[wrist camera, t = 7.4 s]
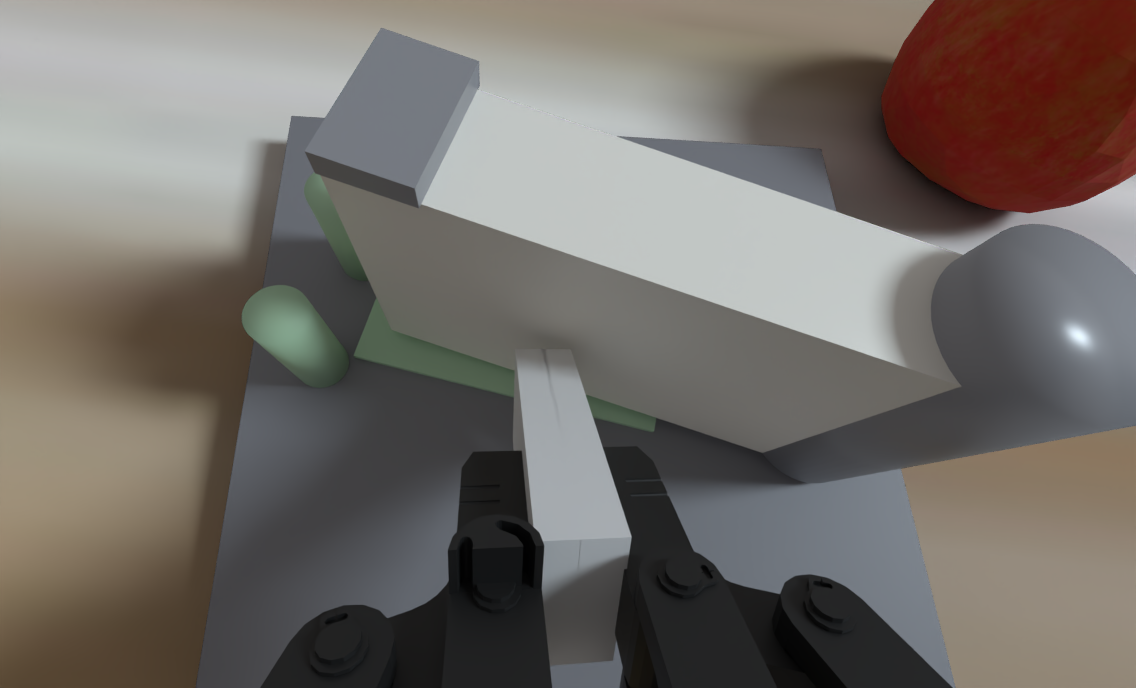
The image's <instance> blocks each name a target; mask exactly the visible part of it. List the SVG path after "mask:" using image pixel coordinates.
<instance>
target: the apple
mask: <svg viewBox="0 0 1136 688" xmlns="http://www.w3.org/2000/svg"><path fill="white" fill-rule="evenodd" d="M881 108H882V113H883V117H884V121H885V126H886V130H887V134H888V138H889V139H890V140H891V142H892V143H893V145H894V146H895V148H896V149H897V150H898V152H899V153H900V154H901V155H902V156H903V157H904V158H905V159H906V160H908V161H909V162H910V163H911V164H912V165H913V166H915V167H916V168H917V169H918V170H919V171H920V172H922V173H923V174H924V175H925V176H926V177H927V178H929V179H930V180H931V181H933V182H935V183H937V184H939V185H940V186H942V187H944V188H946V189H947V190H949V191H951V192H953V193H954V194H956V195H958V196H960V197H961V198H963V199H965V200H967V201H970V202H973V203H976V204H979V205H982V206H985V207H988V208H991V209H997V210H1006V211H1015V212H1023V213H1033V212H1039V211H1044V210H1050V209H1055V208H1060V207H1066V206H1071V205H1074V204H1077V203H1080V202H1083V201H1086V200H1088V199H1090V198H1092V197H1094V196H1096V195H1098V194H1100V193H1102V192H1104V191H1106V190H1108V189H1110V188H1112V187H1114V186H1116V185H1118V184H1120V183H1121V182H1123V181H1125V180H1126V179H1128V178H1130V177H1131V176H1133V175H1135V174H1136V0H935V1H934V2H933V3H932V4H931V5H930V6H929V7H928V9H927V10H926V12H925V13H924V14H923V16H922V17H921V19H920V20H919V21H918V23H917V24H916V26H915V27H914V28H913V30H912V31H911V33H910V34H909V36H908V37H907V38H906V40H905V41H904V43H903V45H902V47H901V49H900V51H899V53H898V55H897V58H896V60H895V62H894V64H893V67H892V69H891V72H890V75H889V77H888V80H887V83H886V85H885V88H884V91H883V94H882V96H881Z"/></svg>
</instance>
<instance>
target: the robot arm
mask: <svg viewBox="0 0 1136 688" xmlns="http://www.w3.org/2000/svg"><path fill="white" fill-rule="evenodd" d="M513 450H514V451H479V452H473V453H472V454H471V455H470V457H469V458H468V460H467V461H466V462H465V464H464V465H463V466H462V470H461V483H460V496H459V510H458V523H457V532H456V533H455V534H454V535H453V537H452V540H451V542H450V545H449V548H448V574H449V581H448V583H447V585H446V586H445V587H444V588H443V589H442V590H441V591H440V592H439V593H438V595H436V596H435V597H434V598H432V599H431V600H429V601H428V602H427V603H425V604H423V605H421V606H419V607H416V608H414V609H412V610H409V611H406V612H404V613H401V614H398V615H395V616H392V617H389V618H386V616H385V615H384V614H383V613H382V612H381V611H380V610H377V609H374V608H372V607H369V606H366V605H343V606H340V607H337V608H334V609H331V610H328V611H325V612H323V613H321V614H320V615H318V616H317V617H315V618H313V619H312V620H310V621H309V622H307V623H306V624H304V626H303V627H302V628H301V629H300V630H299V631H298V632H297V634H296V635H295V636H294V637H293V638H292V639H291V640H290V642H289V643H288V645H287V646H286V648H285V650H284V651H283V653H282V654H281V656H280V657H279V659H278V660H277V662H276V664H275V665H274V667H273V668H272V670H271V671H270V673H269V675H268V676H267V678H266V679H265V681H264V682H263V684H262V686H261V687H260V688H552V681H551V671H550V666H553V665H565V664H580V663H592V662H604V661H613V658H614V651H615V645H616V641H617V645H618V649H619V654H620V658H621V662H622V667H623V668H622V674H621V681H620V687H619V688H953V687H952V686H951V685H950V684H949V683H948V682H947V681H946V680H945V679H943V678H942V677H941V676H940V675H939V674H938V673H937V672H936V671H935V670H934V669H933V668H932V667H931V666H930V665H929V664H928V663H927V662H926V661H925V660H924V659H923V658H922V657H921V656H920V655H919V654H918V653H917V652H916V651H915V650H914V649H913V648H912V647H911V646H910V645H909V644H908V643H907V642H906V641H905V640H904V639H902V638H901V637H900V636H899V635H898V634H897V633H896V632H895V631H894V630H893V629H892V628H891V627H890V626H889V625H888V624H887V623H886V622H885V621H884V620H883V619H882V618H881V617H880V616H879V615H878V614H877V613H876V612H875V611H874V610H873V609H872V608H871V607H870V606H869V605H868V604H867V603H866V602H865V601H864V600H863V599H861V598H860V597H859V596H858V595H856V594H855V593H854V592H852V591H851V590H850V589H849V588H847V587H846V586H844V585H842V584H840V583H838V582H836V581H834V580H831V579H829V578H827V577H822V576H817V575H812V574H806V575H797V576H794V577H792V578H791V579H789V580H788V581H786V582H785V583H784V585H783V588H782V590H781V593H780V594H777V593H773V592H768V591H764V590H759V589H754V588H750V587H745V586H742V585H738V584H735V583H732V582H729V581H727V580H725V579H724V577H723V576H722V574H721V573H720V572H719V570H718V569H717V568H716V566H715V565H714V564H713V563H712V562H711V561H709V560H708V559H706V558H705V557H704V556H702V555H701V554H699V553H696V552H694V550H693V548H692V546H691V544H690V542H689V539H688V537H687V535H686V533H685V531H684V528H683V526H682V524H681V522H680V519H679V517H678V515H677V513H676V511H675V508H674V506H673V504H672V502H671V499H670V497H669V496H667V491H666V488H665V486H664V484H663V482H662V481H661V477H660V475H659V473H658V471H657V468H656V466H655V464H654V462H653V460H652V459H651V458H649V457H648V456H647V455H646V454H645V453H644V452H643V451H642V450H641V449H640V448H638V447H637V446H627V447H602V444H601V441H600V438H599V435H598V432H597V428H596V425H595V422H594V419H593V416H592V413H591V410H590V407H589V404H588V401H587V398H586V394H585V391H584V388H583V385H582V382H581V379H580V376H579V373H578V370H577V367H576V364H575V360H574V357H573V354H572V351H571V349H515V379H514V413H513Z"/></svg>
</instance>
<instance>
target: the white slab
mask: <svg viewBox="0 0 1136 688" xmlns="http://www.w3.org/2000/svg"><path fill="white" fill-rule="evenodd" d="M479 86H480V82H479V61H477V60H474V59H471V58H468V57H465V56H462V55H459V54H456V53H453V52H450V51H447V50H445V49H442V48H439V47H436V46H433V45H430V44H427V43H424V42H421V41H418V40H415V39H412V38H410V37H407V36H404V35H401V34H398V33H395V32H392V31H389V30H386V29H383V28H381V29H380V31H379V32H378V34H377V36H376V37H375V39H374V40H373V42H372V44H371V45H370V47H369V48H368V50H367V52H366V53H365V55H364V56H363V58H362V60H361V61H360V63H359V64H358V66H357V68H356V69H355V71H354V72H353V74H352V76H351V77H350V79H349V80H348V82H347V84H346V85H345V87H344V89H343V90H342V92H341V93H340V95H339V97H338V98H337V100H336V101H335V103H334V105H333V106H332V108H331V109H330V111H329V113H328V114H327V116H326V117H325V119H324V121H323V122H322V124H321V125H320V127H319V129H318V130H317V132H316V133H315V135H314V137H313V138H312V140H311V141H310V143H309V145H308V146H307V148H306V150H305V153H306V156H307V158H308V160H309V162H310V164H311V166H312V168H313V170H314V172H315V174H318V175H320V176H321V178H322V180H323V182H324V185H325V187H326V189H327V191H328V193H329V195H330V198H331V200H332V202H333V204H334V206H335V208H336V211H337V213H338V215H339V217H340V219H341V221H342V224H343V226H344V228H345V230H346V232H347V234H348V237H349V239H350V241H351V243H352V245H353V248H354V250H355V252H356V254H357V256H358V258H359V261H360V263H361V265H362V267H363V269H364V271H365V274H366V276H367V278H368V280H369V282H370V284H371V287H372V289H373V291H374V293H375V295H376V297H377V300H378V302H379V304H380V306H381V308H382V310H383V313H384V315H385V317H386V319H387V321H388V324H389V326H390V328H391V330H393V331H396V332H399V333H402V334H405V335H408V336H411V337H414V338H417V339H420V340H423V341H426V342H429V343H432V344H435V345H438V346H441V347H444V348H447V349H450V350H453V351H456V352H459V353H463V354H466V355H469V356H472V357H475V358H478V359H481V360H484V361H487V362H490V363H493V364H496V365H499V366H502V367H505V368H508V369H511V370H514V371H515V349H571V351H572V354H573V357H574V360H575V364H576V367H577V370H578V373H579V376H580V379H581V382H582V385H583V388H584V391H585V394H586V395H589V396H592V397H595V398H598V399H601V400H604V401H607V402H610V403H613V404H616V405H619V406H622V407H625V408H628V409H631V410H634V411H637V412H640V413H643V414H646V415H649V416H652V417H655V418H658V419H661V420H664V421H667V422H671V423H674V424H677V425H680V426H683V427H686V428H689V429H692V430H695V431H698V432H701V433H704V434H707V435H710V436H713V437H716V438H719V439H722V440H725V441H728V442H731V443H734V444H737V445H740V446H743V447H746V448H749V449H752V450H755V451H758V452H761V453H763V455H764V456H765V457H766V458H767V460H768V461H769V462H770V463H771V464H772V465H773V466H774V467H776V468H777V469H778V470H779V471H781V472H782V473H784V474H785V475H787V476H789V477H791V478H793V479H796V480H798V481H802V482H806V483H825V482H831V481H836V480H842V479H847V478H853V477H858V476H864V475H869V474H874V473H880V472H885V471H891V470H896V469H902V468H907V467H913V466H918V465H924V464H929V463H934V462H940V461H945V460H951V459H956V458H962V457H967V456H973V455H978V454H984V453H989V452H994V451H1000V450H1005V449H1011V448H1016V447H1022V446H1027V445H1033V444H1038V443H1044V442H1049V441H1054V440H1060V439H1065V438H1071V437H1076V436H1082V435H1087V434H1093V433H1098V432H1103V431H1109V430H1114V429H1120V428H1125V427H1131V426H1136V275H1135V274H1134V273H1133V272H1132V271H1131V270H1130V269H1129V268H1128V267H1127V266H1126V265H1125V264H1124V263H1123V262H1122V261H1120V260H1119V259H1118V258H1117V257H1116V256H1114V255H1113V254H1112V253H1110V252H1109V251H1108V250H1106V249H1105V248H1103V247H1101V246H1100V245H1098V244H1097V243H1095V242H1093V241H1091V240H1089V239H1087V238H1086V237H1084V236H1082V235H1079V234H1077V233H1074V232H1072V231H1069V230H1066V229H1062V228H1059V227H1055V226H1049V225H1040V224H1028V225H1020V226H1016V227H1011V228H1009V229H1007V230H1004V231H1002V232H1000V233H999V234H997V235H995V236H994V237H992V238H990V239H989V240H987V241H985V242H984V243H982V244H981V245H979V246H977V247H976V248H974V249H972V250H971V251H969V252H967V253H966V254H964V255H961V254H959V253H956V252H953V251H950V250H947V249H944V248H941V247H938V246H935V245H932V244H929V243H926V242H923V241H921V240H918V239H915V238H912V237H909V236H906V235H903V234H900V233H897V232H894V231H891V230H888V229H885V228H883V227H880V226H877V225H874V224H871V223H868V222H865V221H862V220H859V219H856V218H853V217H850V216H847V215H845V214H842V213H839V212H836V211H833V210H830V209H827V208H824V207H821V206H818V205H815V204H812V203H809V202H807V201H804V200H801V199H798V198H795V197H792V196H789V195H786V194H783V193H780V192H777V191H774V190H771V189H769V188H766V187H763V186H760V185H757V184H754V183H751V182H748V181H745V180H742V179H739V178H736V177H733V176H731V175H728V174H725V173H722V172H719V171H716V170H713V169H710V168H707V167H704V166H701V165H698V164H695V163H693V162H690V161H687V160H684V159H681V158H678V157H675V156H672V155H669V154H666V153H663V152H660V151H657V150H655V149H652V148H649V147H646V146H643V145H640V144H637V143H634V142H631V141H628V140H625V139H622V138H619V137H617V136H614V135H611V134H608V133H605V132H602V131H599V130H596V129H593V128H590V127H587V126H584V125H582V124H579V123H576V122H573V121H570V120H567V119H564V118H561V117H558V116H555V115H552V114H549V113H546V112H544V111H541V110H538V109H535V108H532V107H529V106H526V105H523V104H520V103H517V102H514V101H511V100H508V99H506V98H503V97H500V96H497V95H494V94H491V93H488V92H485V91H482V90H479V89H478V88H479Z"/></svg>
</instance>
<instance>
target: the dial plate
mask: <svg viewBox="0 0 1136 688" xmlns="http://www.w3.org/2000/svg"><path fill="white" fill-rule="evenodd" d="M324 119H325V118H317V117H301V116H291V122H290V128H289V134H288V140H287V146H286V152H285V158H284V164H283V170H282V176H281V182H280V188H279V194H278V200H277V206H276V211H275V217H274V223H273V229H272V235H271V241H270V247H269V253H268V259H267V265H266V271H265V277H264V283H263V289H261V290H259V291H258V292H256V293H255V294H254V295H252V296H251V297H250V298H249V300H248V301H247V302H246V304H245V306H244V308H243V311H242V324H243V327H244V329H245V331H246V332H247V334H248V335H249V336H250V337H252V338H253V339H254V342H253V348H252V354H251V360H250V366H249V372H248V378H247V384H246V390H245V396H244V402H243V408H242V414H241V420H240V426H239V432H238V438H237V444H236V450H235V456H234V462H233V468H232V473H231V479H230V485H229V491H228V497H227V503H226V509H225V515H224V521H223V527H222V533H221V539H220V545H219V551H218V557H217V563H216V569H215V575H214V581H213V587H212V593H211V599H210V604H209V610H208V616H207V622H206V628H205V634H204V640H203V646H202V652H201V658H200V664H199V670H198V676H197V682H196V688H260V687H261V686H262V684H263V682H264V681H265V679H266V678H267V676H268V675H269V673H270V671H271V670H272V668H273V667H274V665H275V664H276V662H277V660H278V659H279V657H280V656H281V654H282V653H283V651H284V650H285V648H286V646H287V645H288V643H289V642H290V640H291V639H292V638H293V637H294V636H295V635H296V634H297V632H298V631H299V630H300V629H301V628H302V627H303V626H304V624H306V623H307V622H309V621H310V620H312V619H313V618H315V617H317V616H318V615H320V614H321V613H323V612H325V611H328V610H331V609H334V608H337V607H340V606H343V605H366V606H369V607H372V608H374V609H377V610H380V611H381V612H382V613H383V614H384V615H385V616H386V618H389V617H392V616H395V615H398V614H401V613H404V612H406V611H409V610H412V609H414V608H416V607H419V606H421V605H423V604H425V603H427V602H428V601H429V600H431V599H432V598H434V597H435V596H436V595H438V593H439V592H440V591H441V590H442V589H443V588H444V587H445V586H446V585H447V583H448V581H449V574H448V548H449V545H450V542H451V540H452V537H453V535H454V534H455V533H456V532H457V523H458V510H459V496H460V483H461V470H462V466H463V465H464V464H465V462H466V461H467V460H468V458H469V457H470V455H471V454H472V453H473V452H479V451H514V450H513V413H514V379H515V371H514V370H511V369H508V368H505V367H502V366H499V365H496V364H493V363H490V362H487V361H484V360H481V359H478V358H475V357H472V356H469V355H466V354H463V353H459V352H456V351H453V350H450V349H447V348H444V347H441V346H438V345H435V344H432V343H429V342H426V341H423V340H420V339H417V338H414V337H411V336H408V335H405V334H402V333H399V332H396V331H393V330H391V328H390V326H389V324H388V321H387V319H386V317H385V315H384V313H383V310H382V308H381V306H380V304H379V302H378V300H377V297H376V295H375V293H374V291H373V289H372V287H371V284H370V282H369V280H368V278H367V276H366V274H365V271H364V269H363V267H362V265H361V263H360V261H359V258H358V256H357V254H356V252H355V250H354V248H353V245H352V243H351V241H350V239H349V237H348V234H347V232H346V230H345V228H344V226H343V224H342V221H341V219H340V217H339V215H338V213H337V211H336V208H335V206H334V204H333V202H332V200H331V198H330V195H329V193H328V191H327V189H326V187H325V185H324V182H323V180H322V178H321V176H320V175H318V174H315V172H314V170H313V168H312V166H311V164H310V162H309V160H308V158H307V156H306V153H305V150H306V148H307V146H308V145H309V143H310V141H311V140H312V138H313V137H314V135H315V133H316V132H317V130H318V129H319V127H320V125H321V124H322V122H323V121H324ZM617 137H619V138H622V139H625V140H628V141H631V142H634V143H637V144H640V145H643V146H646V147H649V148H652V149H655V150H657V151H660V152H663V153H666V154H669V155H672V156H675V157H678V158H681V159H684V160H687V161H690V162H693V163H695V164H698V165H701V166H704V167H707V168H710V169H713V170H716V171H719V172H722V173H725V174H728V175H731V176H733V177H736V178H739V179H742V180H745V181H748V182H751V183H754V184H757V185H760V186H763V187H766V188H769V189H771V190H774V191H777V192H780V193H783V194H786V195H789V196H792V197H795V198H798V199H801V200H804V201H807V202H809V203H812V204H815V205H818V206H821V207H824V208H827V209H830V210H833V211H836V207H835V203H834V199H833V195H832V191H831V187H830V183H829V179H828V175H827V171H826V167H825V163H824V159H823V155H822V151H821V149H814V148H798V147H782V146H766V145H750V144H734V143H718V142H702V141H686V140H670V139H654V138H638V137H622V136H617ZM836 212H837V211H836ZM586 398H587V401H588V404H589V407H590V410H591V413H592V416H593V419H594V422H595V425H596V428H597V432H598V435H599V438H600V441H601V444H602V447H627V446H637V447H638V448H640V449H641V450H642V451H643V452H644V453H645V454H646V455H647V456H648V457H649V458H651V459H652V460H653V462H654V464H655V466H656V468H657V471H658V473H659V475H660V477H661V481H662V482H663V484H664V486H665V488H666V491H667V496H669V497H670V499H671V502H672V504H673V506H674V508H675V511H676V513H677V515H678V517H679V519H680V522H681V524H682V526H683V528H684V531H685V533H686V535H687V537H688V539H689V542H690V544H691V546H692V548H693V550H694V552H696V553H699V554H701V555H702V556H704V557H705V558H706V559H708V560H709V561H711V562H712V563H713V564H714V565H715V566H716V568H717V569H718V570H719V572H720V573H721V574H722V576H723V577H724V579H725V580H727V581H729V582H732V583H735V584H738V585H742V586H745V587H750V588H754V589H759V590H764V591H768V592H773V593H777V594H780V593H781V590H782V588H783V585H784V583H785V582H786V581H788V580H789V579H791V578H792V577H794V576H797V575H806V574H812V575H817V576H822V577H827V578H829V579H831V580H834V581H836V582H838V583H840V584H842V585H844V586H846V587H847V588H849V589H850V590H851V591H852V592H854V593H855V594H856V595H858V596H859V597H860V598H861V599H863V600H864V601H865V602H866V603H867V604H868V605H869V606H870V607H871V608H872V609H873V610H874V611H875V612H876V613H877V614H878V615H879V616H880V617H881V618H882V619H883V620H884V621H885V622H886V623H887V624H888V625H889V626H890V627H891V628H892V629H893V630H894V631H895V632H896V633H897V634H898V635H899V636H900V637H901V638H902V639H904V640H905V641H906V642H907V643H908V644H909V645H910V646H911V647H912V648H913V649H914V650H915V651H916V652H917V653H918V654H919V655H920V656H921V657H922V658H923V659H924V660H925V661H926V662H927V663H928V664H929V665H930V666H931V667H932V668H933V669H934V670H935V671H936V672H937V673H938V674H939V675H940V676H941V677H942V678H943V679H945V680H946V681H947V682H948V683H949V684H950V685H951V686H952V687H953V688H955V684H954V680H953V676H952V672H951V668H950V664H949V660H948V656H947V652H946V648H945V644H944V640H943V636H942V632H941V628H940V624H939V620H938V616H937V612H936V608H935V604H934V600H933V596H932V592H931V588H930V584H929V580H928V576H927V572H926V568H925V564H924V560H923V556H922V552H921V548H920V544H919V540H918V536H917V532H916V528H915V524H914V520H913V516H912V512H911V508H910V504H909V500H908V496H907V492H906V488H905V484H904V480H903V476H902V472H901V469H896V470H891V471H885V472H880V473H874V474H869V475H864V476H858V477H853V478H847V479H842V480H836V481H831V482H825V483H806V482H802V481H798V480H796V479H793V478H791V477H789V476H787V475H785V474H784V473H782V472H781V471H779V470H778V469H777V468H776V467H774V466H773V465H772V464H771V463H770V462H769V461H768V460H767V458H766V457H765V456H764V455H763V453H761V452H758V451H755V450H752V449H749V448H746V447H743V446H740V445H737V444H734V443H731V442H728V441H725V440H722V439H719V438H716V437H713V436H710V435H707V434H704V433H701V432H698V431H695V430H692V429H689V428H686V427H683V426H680V425H677V424H674V423H671V422H667V421H664V420H661V419H658V418H655V417H652V416H649V415H646V414H643V413H640V412H637V411H634V410H631V409H628V408H625V407H622V406H619V405H616V404H613V403H610V402H607V401H604V400H601V399H598V398H595V397H592V396H589V395H586ZM622 668H623V667H622V662H621V658H620V654H619V649H618V645H617V641H616V645H615V651H614V658H613V661H604V662H592V663H580V664H565V665H553V666H550V671H551V681H552V688H619V687H620V681H621V674H622Z"/></svg>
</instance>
